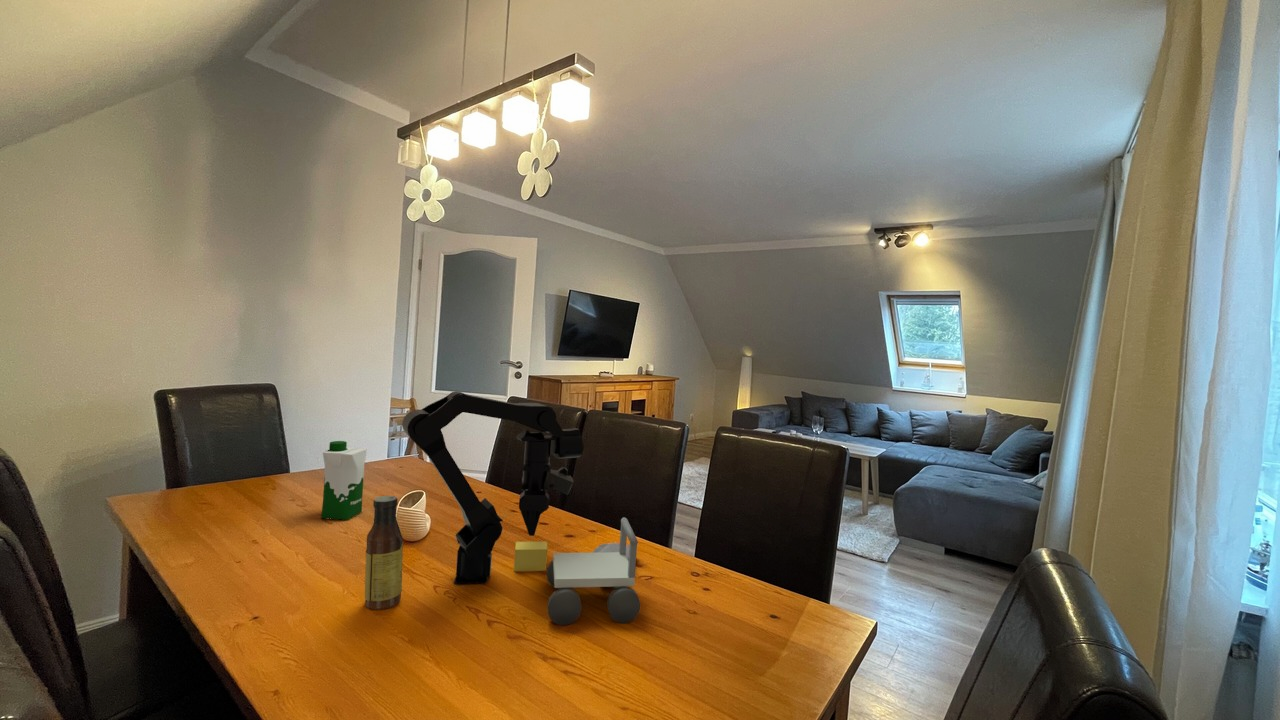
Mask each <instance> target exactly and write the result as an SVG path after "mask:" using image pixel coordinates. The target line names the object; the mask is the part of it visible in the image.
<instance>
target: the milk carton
mask: <svg viewBox="0 0 1280 720" xmlns="http://www.w3.org/2000/svg"><path fill="white" fill-rule="evenodd" d="M347 445H348V444H347V441H345V440H337V441H336V440H335V441H330V442H329V449H327V450H325V451H323V452H322V456H323V462H324V477H323V478H324V479H323V493H322V504H321V505H322V506H321V516H320V519H321V518H329V519H328V520H332V519H342V520H341V521H345V520H347V521H349V520H351V519H352V518H351V517H353V516H354V517H356V516H358V515H360V514H361V513H362V512H363V493H364V491H363V489H364V477H365V463H366V456H367V450H368V449H367V448H359V447H349V446H347ZM360 512H361V513H360ZM359 513H360V514H359ZM357 514H358V515H357ZM355 515H356V516H355ZM354 517H353V518H354ZM330 518H331V519H330ZM350 518H351V519H350ZM348 519H349V520H348Z"/></svg>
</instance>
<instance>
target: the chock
mask: <svg viewBox="0 0 1280 720" xmlns="http://www.w3.org/2000/svg"><path fill="white" fill-rule="evenodd" d="M547 558H548V542H547V541H515V548H514V558H513V559H514V561H513V562H514V563H513V572H547Z"/></svg>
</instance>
